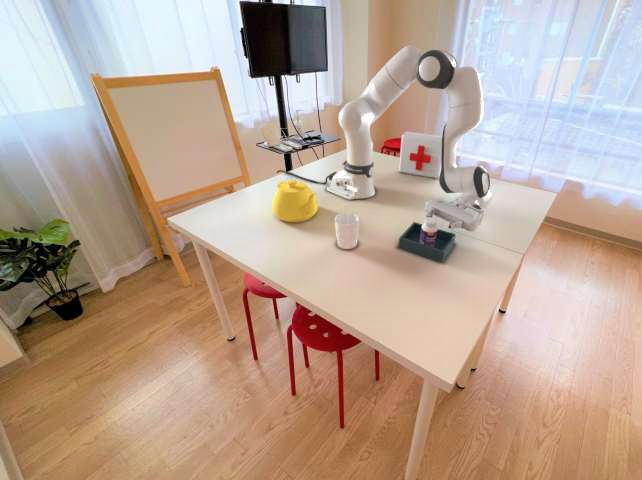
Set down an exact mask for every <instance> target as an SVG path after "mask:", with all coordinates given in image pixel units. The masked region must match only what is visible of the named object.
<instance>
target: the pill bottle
mask: <svg viewBox="0 0 642 480" xmlns="http://www.w3.org/2000/svg"><path fill="white" fill-rule="evenodd" d="M422 224H423V225H422V228H421V234H420V240H419V243H421V244H424V245H427V246H430V247H434V246H435V241H436V236H437V231H438V229H439V227H438V225H437V224H438V220H437V218H435V217H433V216H432V217H428V218H427V217H426V218H425V219H424V223H422Z"/></svg>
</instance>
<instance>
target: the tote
mask: <svg viewBox="0 0 642 480" xmlns="http://www.w3.org/2000/svg"><path fill="white" fill-rule="evenodd" d="M423 224H424V223H419V222H416V221H413V222H412V223H411V224H410V226H409V227H408V228H406V230H405V231H404V232H403V233H402V234H401V235H400V236H399V237H398V247H397V248H398V249H399V250H400V249H401V250H403V251H406V252H409V253H412V254H415V255H417V256H421V257H424V258H426V259H430V260H433V261H435V262H436V261H437V262H438V263H443V262H444V261H445V259H446V257H447V256H448V254H449V252H450V251H451V250H452V247H453V246H454V244H455V239H456V236H457V234H456V233H453V232H450V231H446V230H443V229H439V228H438V231H437V236H436V241H435V246H434V247H430V246H427V245H424V244H421V243H419V240H420V234H421V228H422V225H423Z"/></svg>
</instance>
